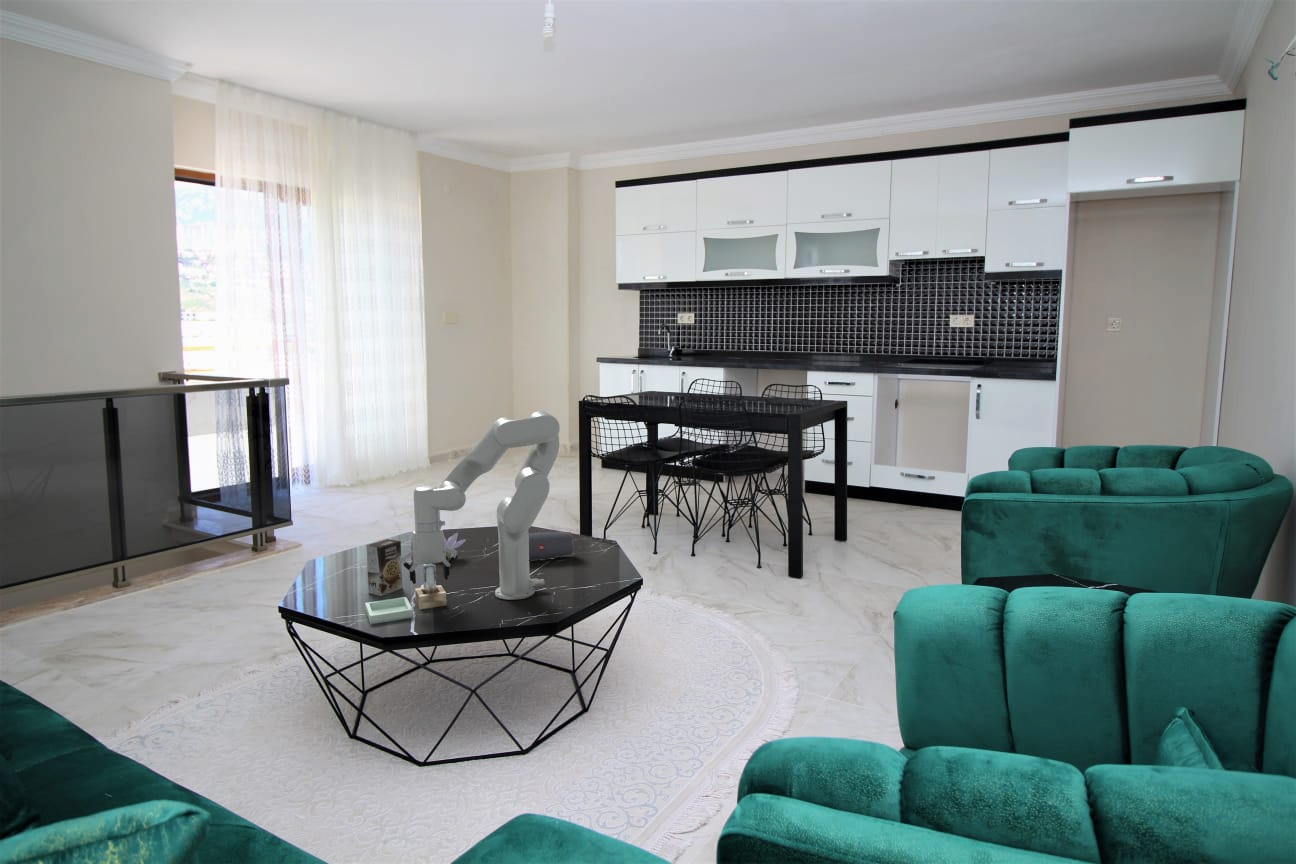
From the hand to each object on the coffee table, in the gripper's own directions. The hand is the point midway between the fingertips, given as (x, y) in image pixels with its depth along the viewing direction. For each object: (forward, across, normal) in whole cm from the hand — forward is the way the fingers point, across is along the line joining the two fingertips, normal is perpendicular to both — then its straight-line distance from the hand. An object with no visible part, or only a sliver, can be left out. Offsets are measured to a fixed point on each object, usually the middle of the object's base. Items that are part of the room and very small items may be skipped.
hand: (429, 580), depth 244 cm
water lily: (+8, -14, -44) cm, 47 cm away
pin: (+7, 0, 0) cm, 7 cm away
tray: (+7, +13, +4) cm, 15 cm away
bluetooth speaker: (+8, -45, -29) cm, 54 cm away
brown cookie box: (+8, +11, -18) cm, 22 cm away
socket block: (+7, 0, 0) cm, 7 cm away
